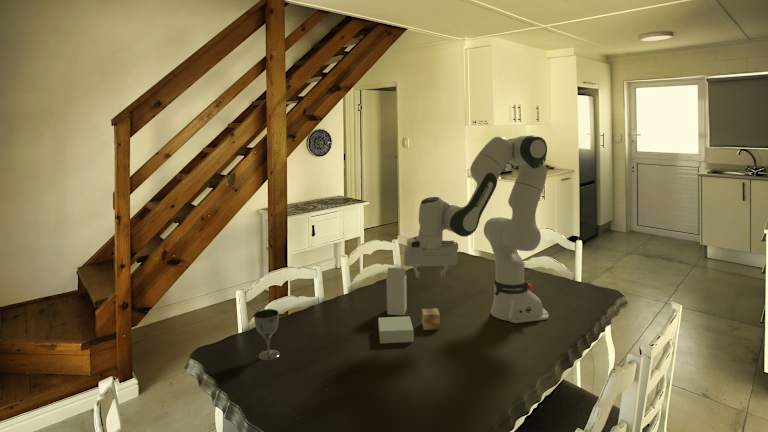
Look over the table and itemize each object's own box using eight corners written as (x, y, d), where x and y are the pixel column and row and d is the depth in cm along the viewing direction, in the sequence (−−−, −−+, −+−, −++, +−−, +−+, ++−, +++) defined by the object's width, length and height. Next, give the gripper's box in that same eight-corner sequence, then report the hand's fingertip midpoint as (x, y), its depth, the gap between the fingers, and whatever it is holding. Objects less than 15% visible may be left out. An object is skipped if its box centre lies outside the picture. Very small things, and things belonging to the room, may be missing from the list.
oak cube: (437, 322, 183) (437, 308, 181) (439, 329, 177) (439, 314, 176) (422, 323, 182) (422, 308, 181) (423, 329, 176) (423, 314, 175)
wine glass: (269, 347, 164) (267, 307, 162) (285, 353, 160) (283, 312, 157) (252, 356, 158) (248, 315, 155) (268, 363, 153) (265, 320, 151)
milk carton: (404, 315, 190) (403, 271, 186) (387, 314, 191) (386, 270, 188) (406, 309, 197) (406, 265, 193) (390, 308, 198) (389, 265, 194)
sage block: (409, 328, 178) (409, 316, 177) (413, 342, 167) (413, 329, 166) (378, 330, 178) (378, 317, 177) (380, 344, 166) (379, 331, 165)
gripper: (456, 238, 177) (456, 273, 179) (402, 239, 176) (403, 274, 178) (460, 242, 170) (459, 278, 173) (404, 243, 170) (404, 279, 172)
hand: (430, 276), depth 176 cm, fingers open, 8 cm apart
